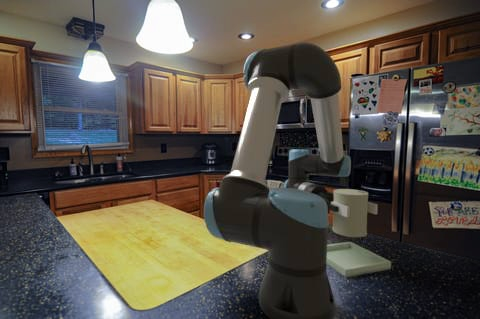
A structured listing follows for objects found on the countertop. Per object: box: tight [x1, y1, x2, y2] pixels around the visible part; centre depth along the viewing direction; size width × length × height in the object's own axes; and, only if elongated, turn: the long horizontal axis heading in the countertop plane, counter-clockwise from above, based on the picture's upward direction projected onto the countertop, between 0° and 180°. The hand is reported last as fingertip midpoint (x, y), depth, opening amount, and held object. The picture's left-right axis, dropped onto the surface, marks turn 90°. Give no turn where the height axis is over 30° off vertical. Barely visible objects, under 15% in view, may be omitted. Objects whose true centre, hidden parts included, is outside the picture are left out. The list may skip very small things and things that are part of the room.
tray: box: [326, 241, 392, 278], centre depth 73 cm, size 15×15×2 cm
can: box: [331, 188, 369, 238], centre depth 73 cm, size 9×9×12 cm
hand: (362, 210), depth 68 cm, fingers closed on can, 9 cm apart
